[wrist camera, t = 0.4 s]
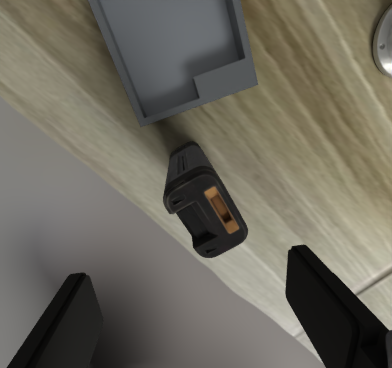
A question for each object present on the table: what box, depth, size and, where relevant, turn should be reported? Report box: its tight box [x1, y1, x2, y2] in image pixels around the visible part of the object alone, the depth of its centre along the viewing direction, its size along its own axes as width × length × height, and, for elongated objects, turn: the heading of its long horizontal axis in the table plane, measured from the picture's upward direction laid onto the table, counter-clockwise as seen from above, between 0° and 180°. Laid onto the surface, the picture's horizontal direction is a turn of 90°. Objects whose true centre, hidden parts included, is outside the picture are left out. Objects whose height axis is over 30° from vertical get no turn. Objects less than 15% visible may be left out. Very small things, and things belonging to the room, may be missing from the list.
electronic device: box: [163, 142, 248, 258], centre depth 30 cm, size 9×6×20 cm, turn 30°
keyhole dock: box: [88, 0, 258, 127], centre depth 31 cm, size 19×19×4 cm
